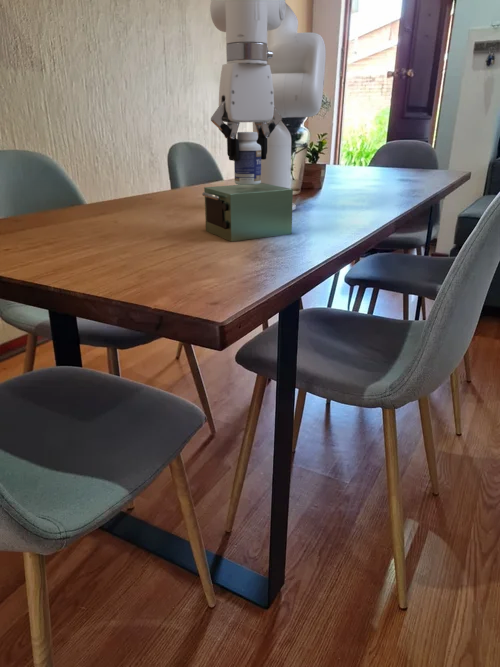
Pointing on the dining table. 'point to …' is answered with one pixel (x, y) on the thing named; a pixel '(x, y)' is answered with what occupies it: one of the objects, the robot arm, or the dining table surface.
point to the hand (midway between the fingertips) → (247, 158)
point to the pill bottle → (248, 159)
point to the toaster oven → (248, 211)
